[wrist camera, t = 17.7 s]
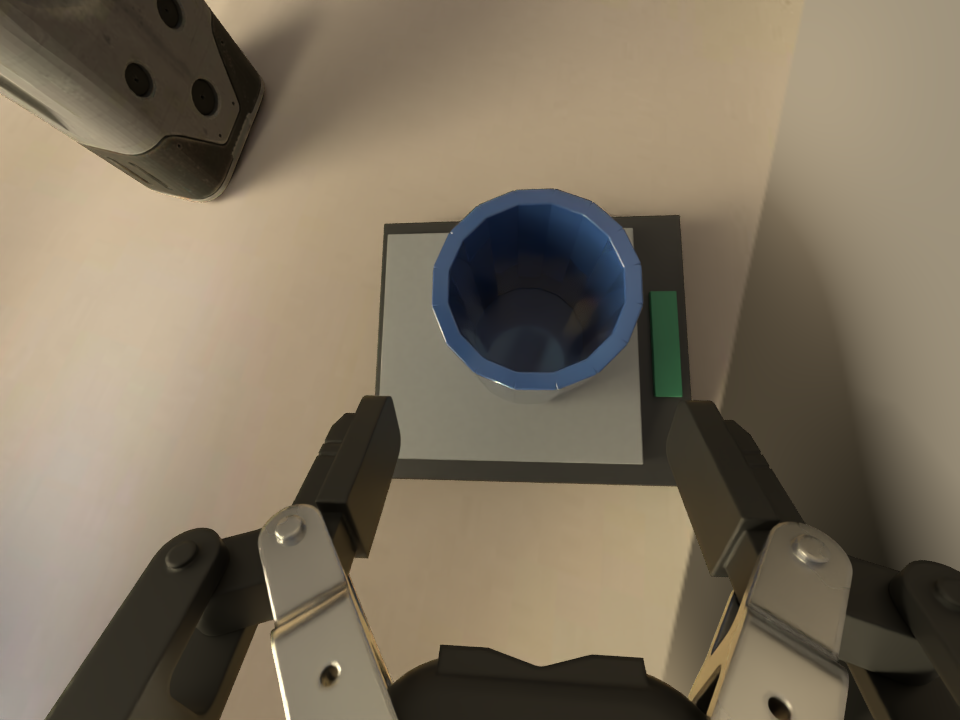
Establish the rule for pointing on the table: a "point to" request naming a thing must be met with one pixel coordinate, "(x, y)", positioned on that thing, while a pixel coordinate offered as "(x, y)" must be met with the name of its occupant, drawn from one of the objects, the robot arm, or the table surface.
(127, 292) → the table surface
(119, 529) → the table surface
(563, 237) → the cup
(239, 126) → the electronic device
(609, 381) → the kitchen scale
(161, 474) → the table surface
